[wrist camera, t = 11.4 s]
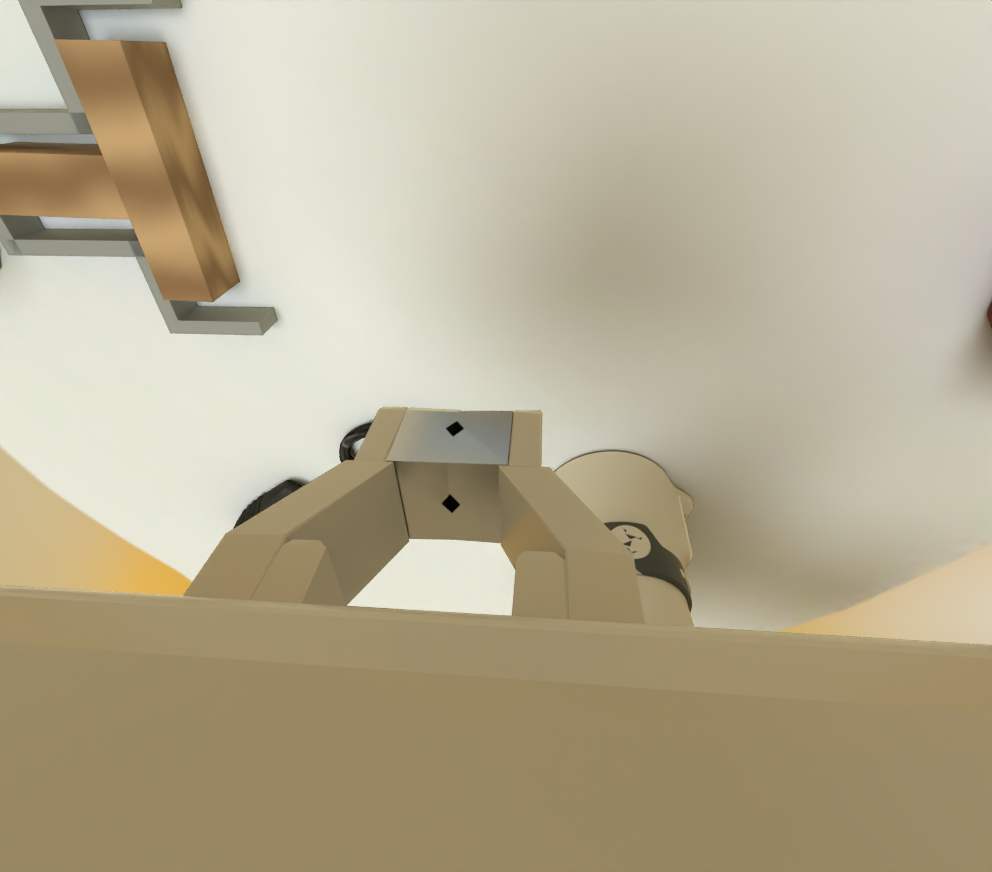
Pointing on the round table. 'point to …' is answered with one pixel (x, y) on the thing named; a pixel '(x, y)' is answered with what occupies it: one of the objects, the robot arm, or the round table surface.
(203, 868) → the robot arm
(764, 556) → the round table surface
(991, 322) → the plant pot
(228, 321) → the T bay
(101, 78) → the T block
